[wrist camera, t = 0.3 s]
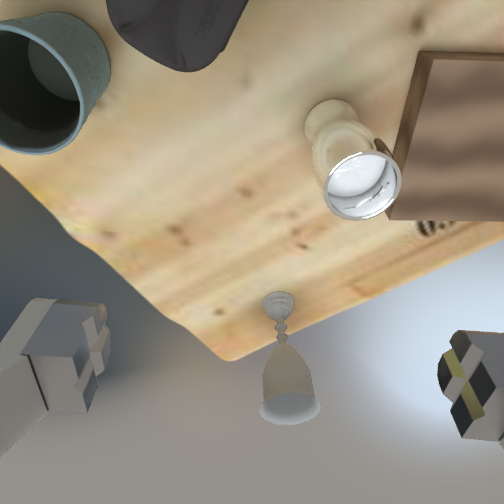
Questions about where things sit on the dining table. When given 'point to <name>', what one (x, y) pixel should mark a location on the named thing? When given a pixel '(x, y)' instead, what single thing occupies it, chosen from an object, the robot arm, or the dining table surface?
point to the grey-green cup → (48, 80)
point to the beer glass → (350, 162)
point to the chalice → (286, 372)
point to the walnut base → (452, 140)
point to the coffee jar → (177, 29)
